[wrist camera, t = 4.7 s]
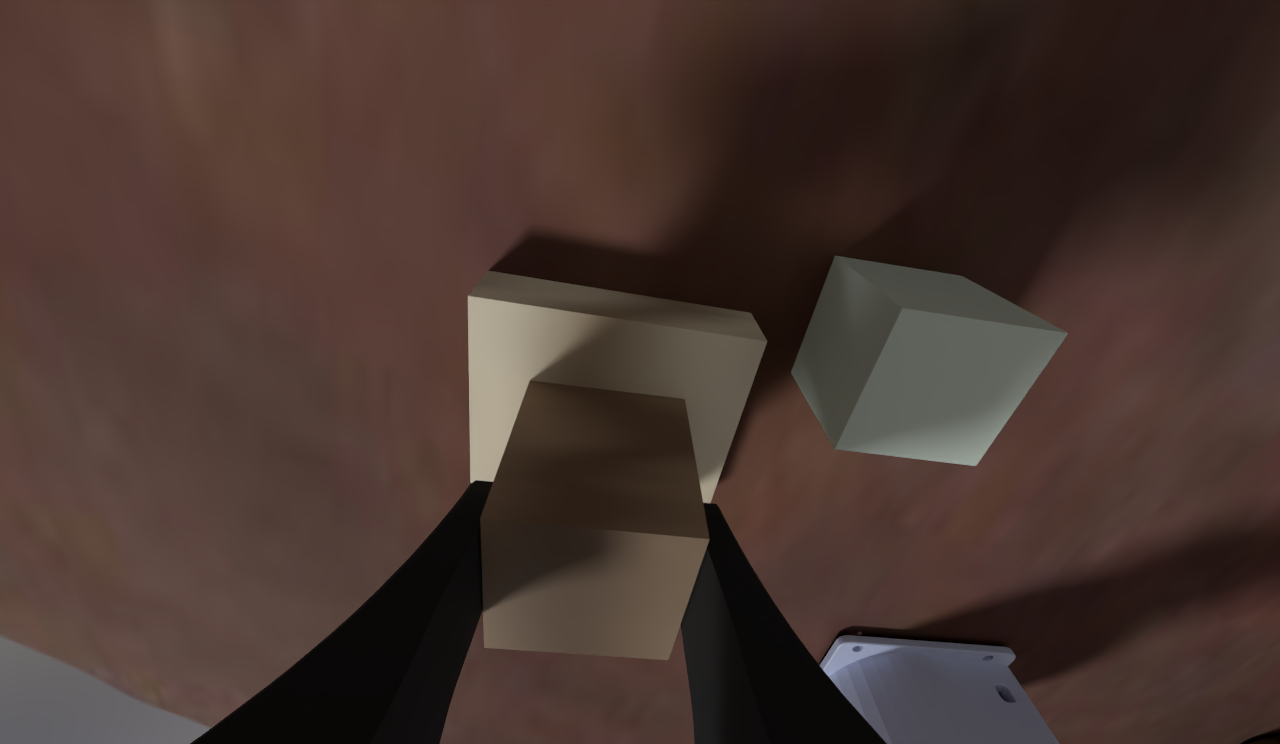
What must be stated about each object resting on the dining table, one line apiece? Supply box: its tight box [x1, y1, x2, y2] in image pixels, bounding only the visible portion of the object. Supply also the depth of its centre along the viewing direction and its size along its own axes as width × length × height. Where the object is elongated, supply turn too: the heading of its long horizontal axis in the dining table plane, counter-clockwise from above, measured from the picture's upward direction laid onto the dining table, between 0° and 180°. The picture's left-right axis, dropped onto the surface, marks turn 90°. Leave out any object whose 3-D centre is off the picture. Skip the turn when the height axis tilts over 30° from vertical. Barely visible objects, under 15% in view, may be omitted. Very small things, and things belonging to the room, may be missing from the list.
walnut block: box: [480, 381, 710, 660], centre depth 12 cm, size 4×4×5 cm
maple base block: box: [468, 271, 767, 503], centre depth 15 cm, size 8×8×2 cm
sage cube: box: [791, 256, 1068, 466], centre depth 13 cm, size 4×4×4 cm
